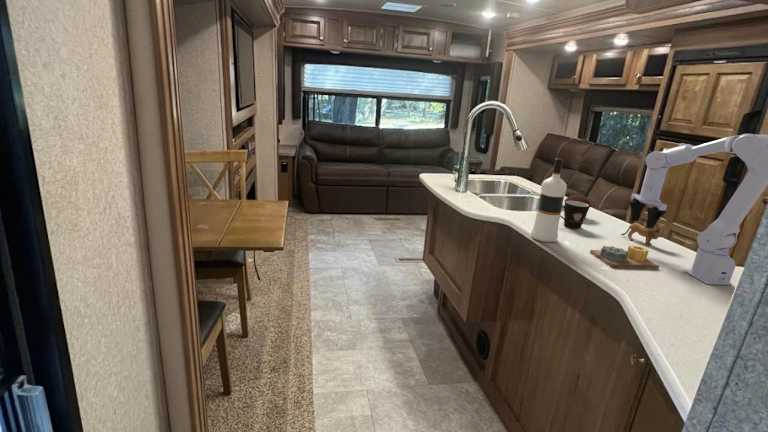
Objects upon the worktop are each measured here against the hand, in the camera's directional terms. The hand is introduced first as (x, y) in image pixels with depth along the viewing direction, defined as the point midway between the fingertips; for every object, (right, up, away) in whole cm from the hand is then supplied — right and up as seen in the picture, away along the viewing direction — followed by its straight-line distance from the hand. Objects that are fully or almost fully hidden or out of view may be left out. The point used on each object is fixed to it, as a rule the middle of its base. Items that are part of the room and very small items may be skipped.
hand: (641, 224), depth 142 cm
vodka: (-31, -6, +9) cm, 33 cm away
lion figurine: (+8, -7, +13) cm, 17 cm away
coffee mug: (-14, -1, +27) cm, 30 cm away
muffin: (-4, +2, +41) cm, 42 cm away
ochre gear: (-7, -11, -8) cm, 15 cm away
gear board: (-11, -12, -8) cm, 18 cm away
